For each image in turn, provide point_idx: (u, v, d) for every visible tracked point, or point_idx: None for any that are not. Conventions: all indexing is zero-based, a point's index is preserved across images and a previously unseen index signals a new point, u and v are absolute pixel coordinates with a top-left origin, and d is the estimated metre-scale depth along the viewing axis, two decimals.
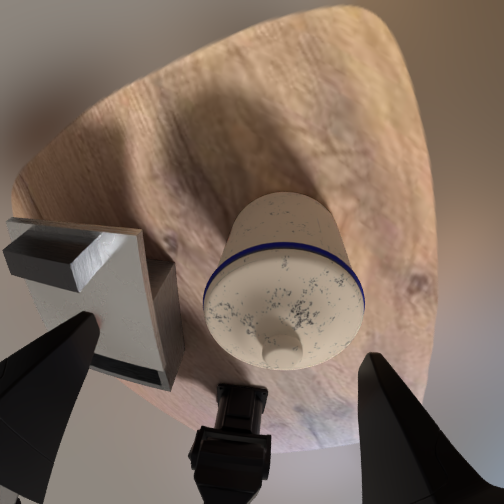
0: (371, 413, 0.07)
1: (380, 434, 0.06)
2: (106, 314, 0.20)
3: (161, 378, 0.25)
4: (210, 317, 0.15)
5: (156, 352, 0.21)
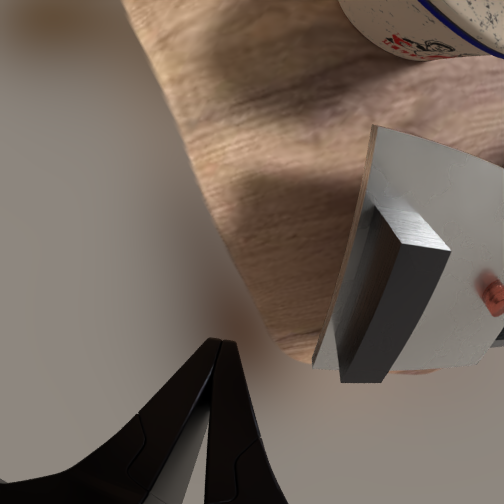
0: None
1: None
2: (484, 247, 0.10)
3: None
4: (494, 33, 0.04)
5: None
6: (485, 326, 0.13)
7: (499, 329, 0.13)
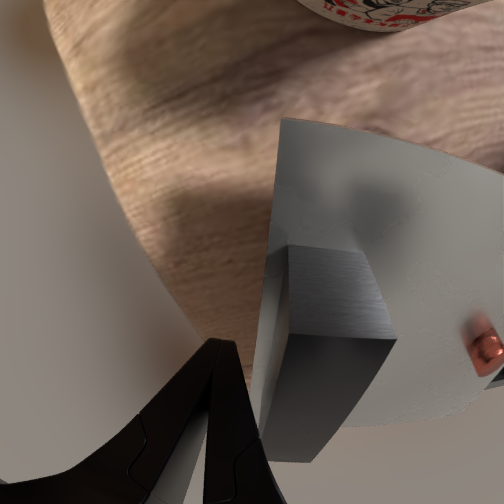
0: None
1: None
2: (474, 292, 0.07)
3: None
4: None
5: None
6: (471, 378, 0.10)
7: (490, 378, 0.10)
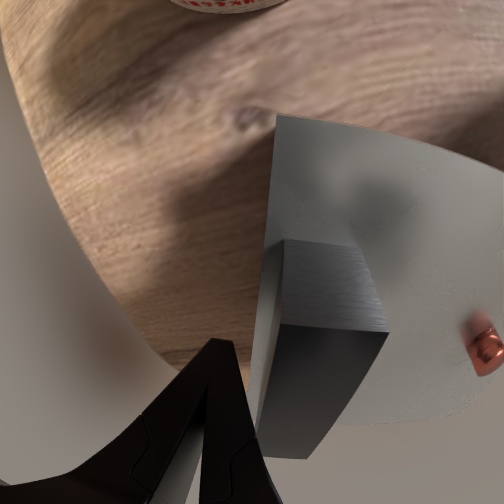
0: None
1: None
2: (473, 290, 0.07)
3: None
4: None
5: None
6: (471, 378, 0.10)
7: (490, 379, 0.10)
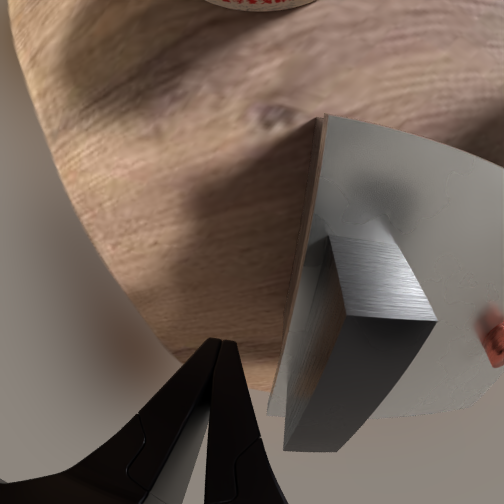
0: None
1: None
2: (491, 285, 0.07)
3: None
4: None
5: None
6: (484, 371, 0.10)
7: (500, 372, 0.10)
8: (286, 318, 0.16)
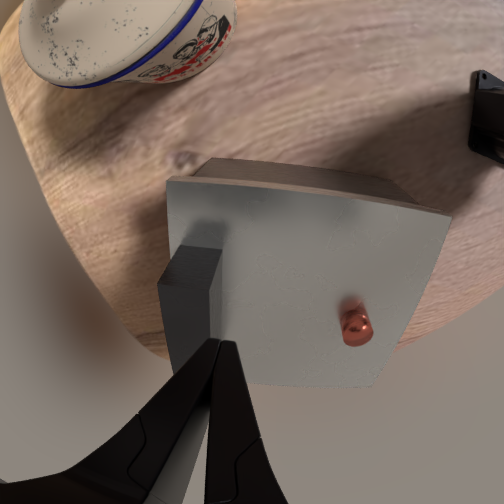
0: None
1: None
2: (321, 277, 0.13)
3: None
4: (79, 72, 0.07)
5: (406, 212, 0.11)
6: (361, 352, 0.16)
7: (386, 355, 0.16)
8: None
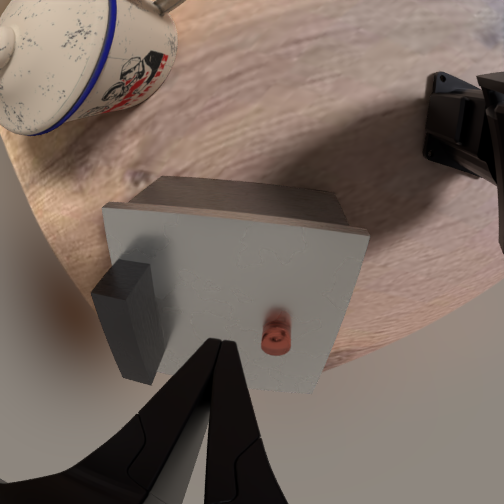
0: None
1: None
2: (236, 290, 0.15)
3: None
4: (25, 126, 0.09)
5: (313, 232, 0.13)
6: (292, 360, 0.17)
7: (319, 365, 0.17)
8: None
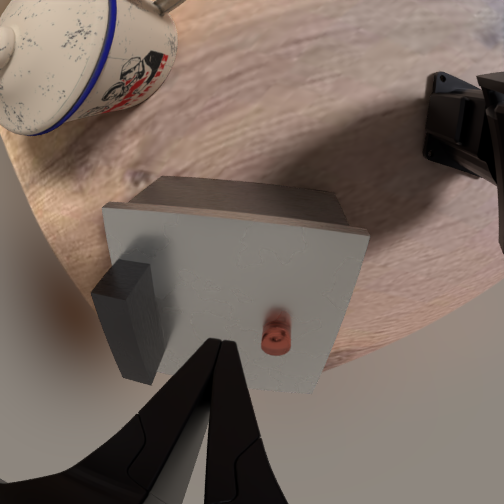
0: None
1: None
2: (236, 290, 0.15)
3: None
4: (25, 126, 0.09)
5: (313, 232, 0.13)
6: (292, 360, 0.17)
7: (319, 365, 0.17)
8: None
